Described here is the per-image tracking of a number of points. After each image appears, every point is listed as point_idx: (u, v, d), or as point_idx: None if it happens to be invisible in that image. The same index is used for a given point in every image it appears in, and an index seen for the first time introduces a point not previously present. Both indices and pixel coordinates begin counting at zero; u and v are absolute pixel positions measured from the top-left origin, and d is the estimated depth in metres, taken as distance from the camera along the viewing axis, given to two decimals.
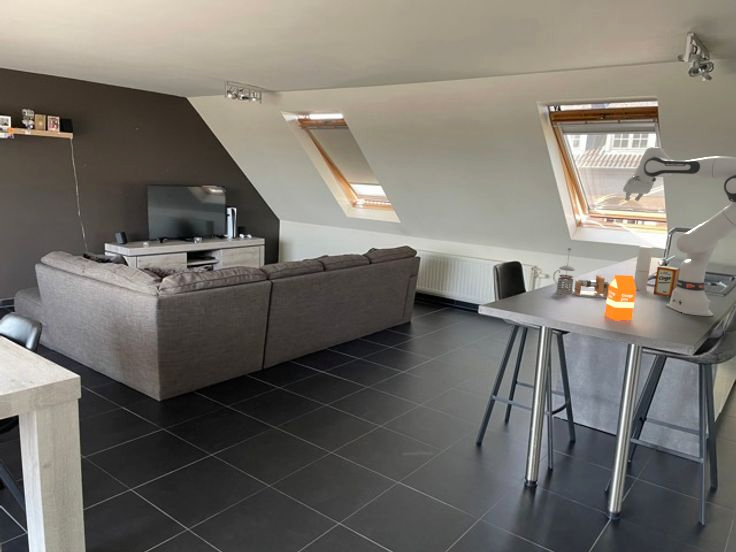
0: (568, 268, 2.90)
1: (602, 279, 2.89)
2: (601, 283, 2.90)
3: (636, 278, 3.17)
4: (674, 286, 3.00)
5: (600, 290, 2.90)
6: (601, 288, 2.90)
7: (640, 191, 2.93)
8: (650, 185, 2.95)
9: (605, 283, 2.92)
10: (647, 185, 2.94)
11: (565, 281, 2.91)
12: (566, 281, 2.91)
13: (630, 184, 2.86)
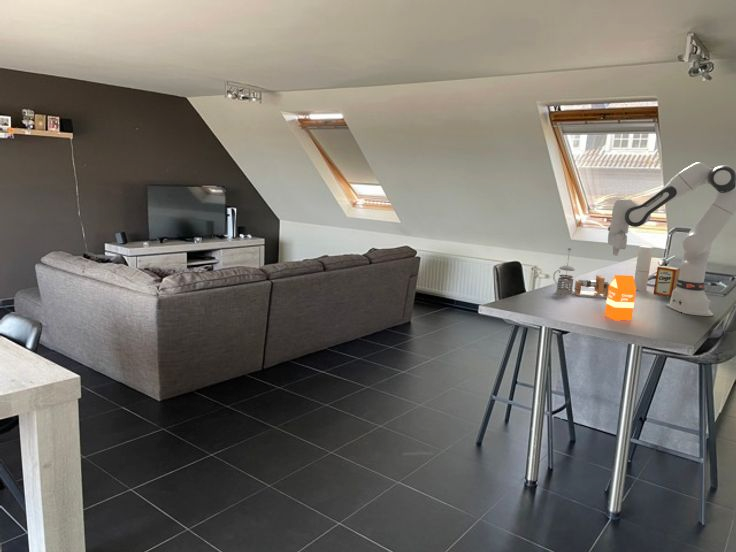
0: (568, 268, 2.90)
1: (602, 279, 2.89)
2: (601, 283, 2.90)
3: (636, 278, 3.17)
4: (674, 286, 3.00)
5: (600, 290, 2.90)
6: (601, 288, 2.90)
7: None
8: None
9: (605, 283, 2.92)
10: None
11: (565, 281, 2.91)
12: (566, 281, 2.91)
13: (625, 240, 2.79)
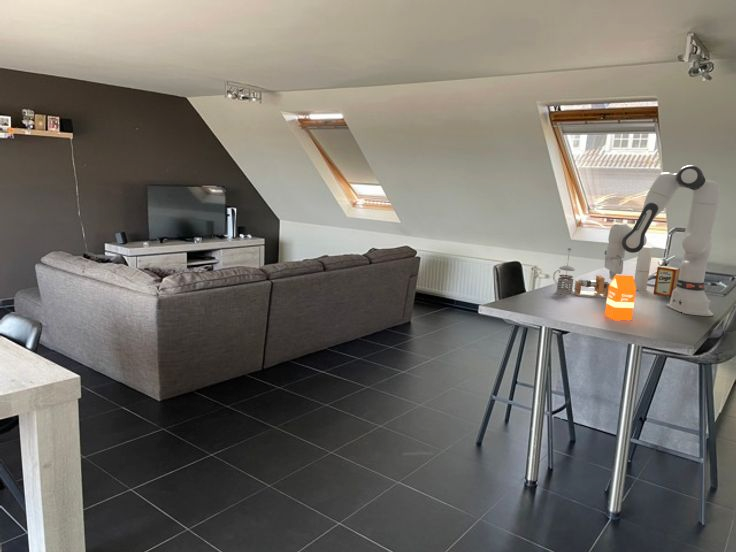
0: (568, 268, 2.90)
1: (602, 279, 2.89)
2: (601, 283, 2.90)
3: (636, 278, 3.17)
4: (674, 286, 3.00)
5: (600, 290, 2.90)
6: (601, 288, 2.90)
7: None
8: None
9: (605, 283, 2.92)
10: None
11: (565, 281, 2.91)
12: (566, 281, 2.91)
13: (621, 265, 2.81)
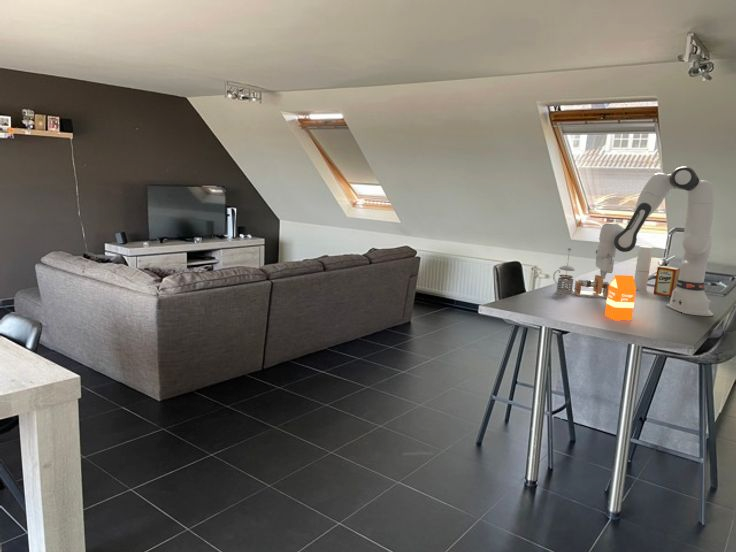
0: (568, 268, 2.90)
1: (601, 279, 2.89)
2: (600, 283, 2.90)
3: (636, 278, 3.17)
4: (674, 286, 3.00)
5: (599, 290, 2.91)
6: (600, 288, 2.90)
7: None
8: None
9: (605, 283, 2.92)
10: None
11: (565, 281, 2.91)
12: (566, 281, 2.91)
13: (612, 264, 2.82)
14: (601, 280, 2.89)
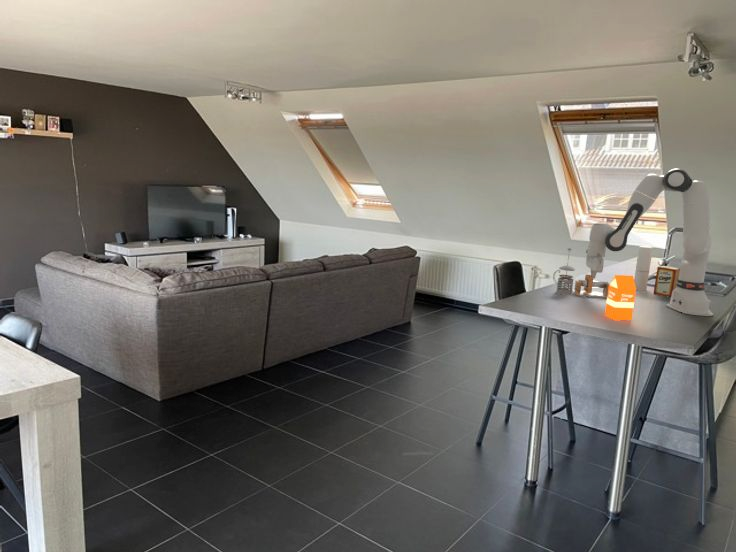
0: (568, 268, 2.90)
1: (591, 278, 2.90)
2: (590, 282, 2.90)
3: (636, 278, 3.17)
4: (674, 286, 3.00)
5: (589, 289, 2.91)
6: (590, 287, 2.91)
7: None
8: None
9: (605, 283, 2.92)
10: None
11: (565, 281, 2.91)
12: (566, 281, 2.91)
13: (602, 263, 2.83)
14: (591, 279, 2.90)
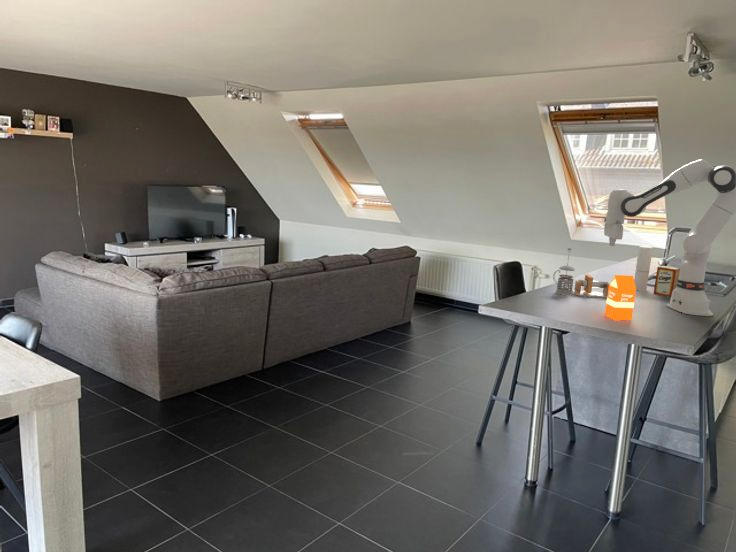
0: (568, 268, 2.90)
1: (591, 278, 2.90)
2: (590, 282, 2.91)
3: (636, 278, 3.17)
4: (674, 286, 3.00)
5: (589, 289, 2.91)
6: (590, 287, 2.91)
7: None
8: None
9: (605, 283, 2.92)
10: None
11: (565, 281, 2.91)
12: (566, 281, 2.91)
13: (621, 230, 2.79)
14: (591, 279, 2.90)
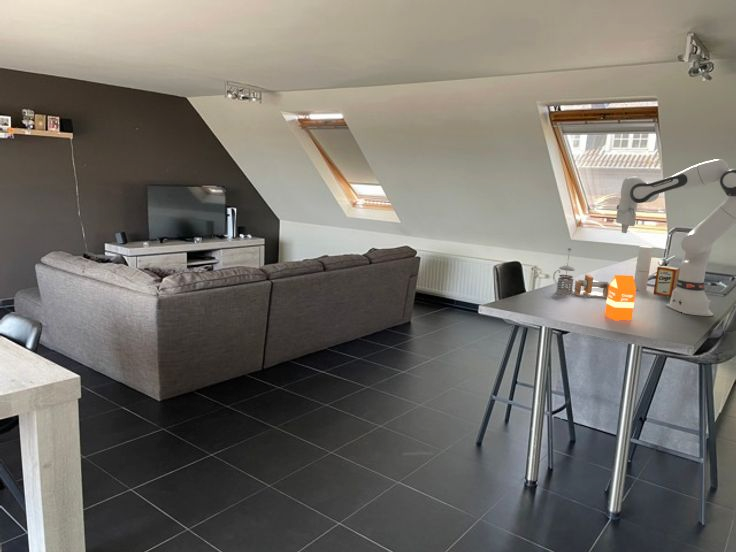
0: (568, 268, 2.90)
1: (591, 278, 2.90)
2: (590, 282, 2.91)
3: (636, 278, 3.17)
4: (674, 286, 3.00)
5: (589, 289, 2.91)
6: (590, 287, 2.91)
7: None
8: None
9: (605, 283, 2.92)
10: None
11: (565, 281, 2.91)
12: (566, 281, 2.91)
13: (634, 217, 2.83)
14: (591, 279, 2.90)
